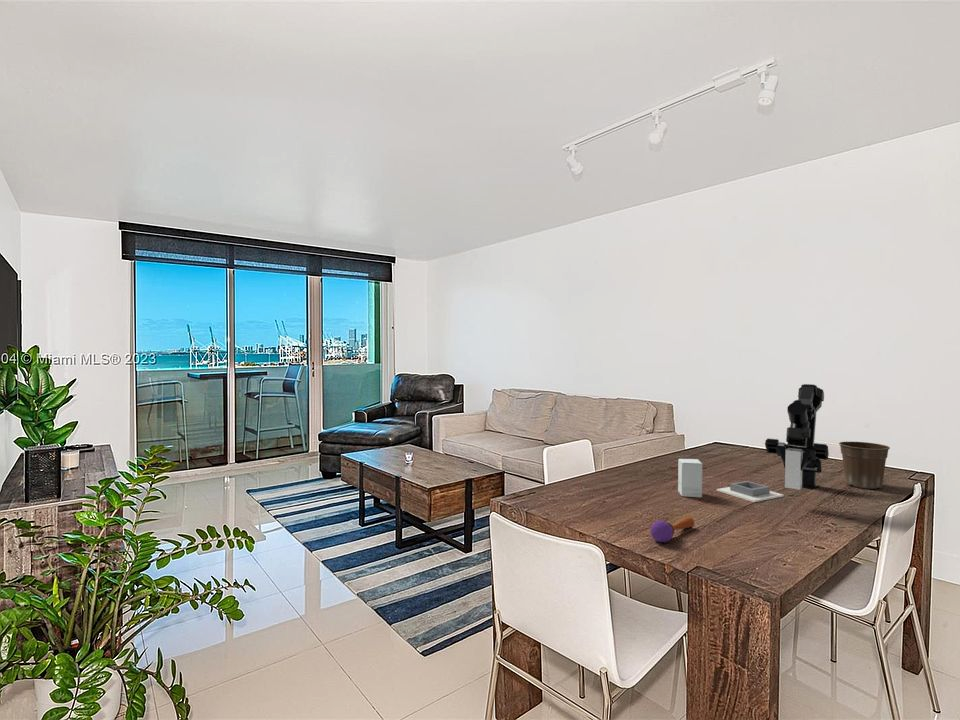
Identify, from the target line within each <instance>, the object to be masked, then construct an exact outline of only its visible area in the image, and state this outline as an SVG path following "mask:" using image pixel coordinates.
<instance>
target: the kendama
mask: <svg viewBox="0 0 960 720" xmlns="http://www.w3.org/2000/svg"><path fill="white" fill-rule="evenodd" d="M694 526H695V520H694V519H693V518H692V517H691V516H685V517H684V518H682V519H680V520H679V521H678V522H676V523H674V524H672V523H670V522H668V521H664V520H656V521H654V522H653V523H652V525H651V527H650V535H651V538H653V539H654V541H657V542H658V543H661V542H664V543H667V542H670V541H671V540H672V537H673V536H674V534H675V530H680V529H690V527H691V528H693V527H694Z"/></svg>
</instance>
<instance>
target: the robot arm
mask: <svg viewBox="0 0 960 720" xmlns="http://www.w3.org/2000/svg"><path fill="white" fill-rule="evenodd" d="M797 398H798V399H795V400H793V401H792V403H790V404H789V405H788V406H787V411H786V412H787V415H788V419H789V422H790V426H788V427H787V428H786V438H785V440H786V441H785V442H787V443H785V442H783V441H780V440H779V439H778V438H767V439H765V442H764V445H765V450H766V453H768V454H774V455H777V456H778V457H780V459H781V460H782V463H783V468H784V469H785V454H786V449H787V448H794V449H803V460H802V463H801V471H802V488H806V489H815V488H819V487H820V485H819V484H816V480H817V475H816V474H819V473H822V470H823V469H822V460H829V455H830V454H829V453H830V452H829V446H828V445H827V444H825V443H816V442H815V438H816V437H815V435H816V425H817V424H816V422H817V412H818V411H819V410H820V409H821V407H822V404H823V402H825V393H824V389H822V388H820V387H818V386H817V385H816V384H811V383H810V384H809V383H802V384H801V386H800V387H799V388H798V395H797Z"/></svg>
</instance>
